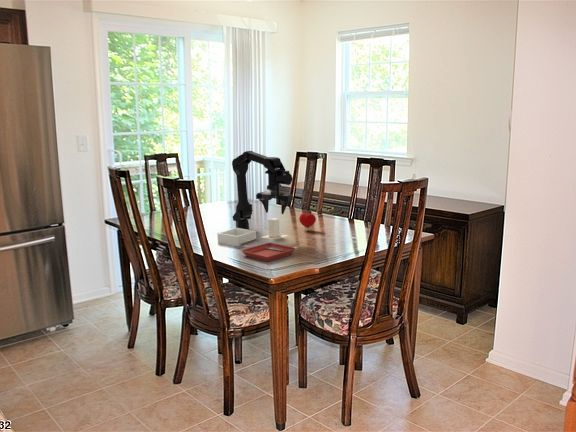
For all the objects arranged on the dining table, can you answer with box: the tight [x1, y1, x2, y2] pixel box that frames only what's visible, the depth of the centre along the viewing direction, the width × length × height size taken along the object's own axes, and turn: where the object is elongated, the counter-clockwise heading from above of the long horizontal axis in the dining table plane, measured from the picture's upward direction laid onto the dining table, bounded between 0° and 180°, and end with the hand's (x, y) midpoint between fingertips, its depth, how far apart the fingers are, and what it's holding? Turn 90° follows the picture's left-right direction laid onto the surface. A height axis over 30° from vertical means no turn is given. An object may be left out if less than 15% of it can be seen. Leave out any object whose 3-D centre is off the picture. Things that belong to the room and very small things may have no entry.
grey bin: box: [216, 227, 257, 247], centre depth 282 cm, size 14×14×5 cm
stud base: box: [260, 233, 289, 241], centre depth 287 cm, size 10×10×5 cm
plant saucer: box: [241, 242, 296, 262], centre depth 257 cm, size 18×18×3 cm
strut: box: [267, 217, 281, 238], centre depth 286 cm, size 4×4×9 cm
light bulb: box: [298, 212, 317, 232], centre depth 298 cm, size 9×7×10 cm
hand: (274, 213), depth 285 cm, fingers open, 9 cm apart
